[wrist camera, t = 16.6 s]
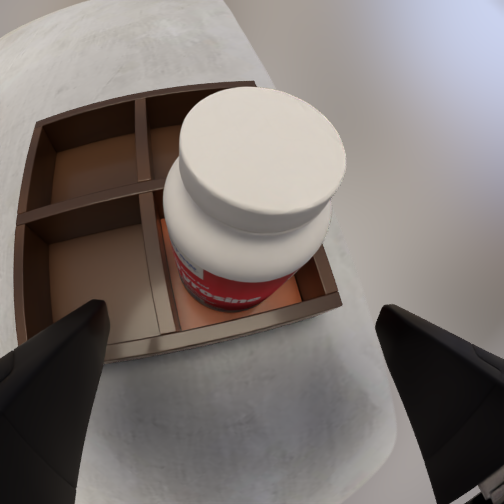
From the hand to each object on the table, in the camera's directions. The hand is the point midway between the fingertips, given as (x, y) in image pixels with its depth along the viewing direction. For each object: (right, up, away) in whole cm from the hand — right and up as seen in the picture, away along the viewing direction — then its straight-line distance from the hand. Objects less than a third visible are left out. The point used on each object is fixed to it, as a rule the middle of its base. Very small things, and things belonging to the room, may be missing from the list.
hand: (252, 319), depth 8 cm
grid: (-7, +4, +10) cm, 13 cm away
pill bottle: (-1, +1, +9) cm, 9 cm away
